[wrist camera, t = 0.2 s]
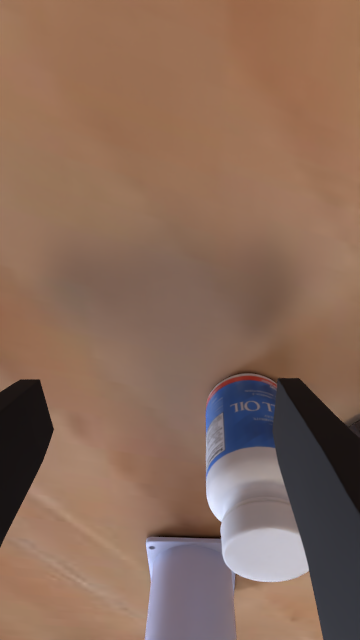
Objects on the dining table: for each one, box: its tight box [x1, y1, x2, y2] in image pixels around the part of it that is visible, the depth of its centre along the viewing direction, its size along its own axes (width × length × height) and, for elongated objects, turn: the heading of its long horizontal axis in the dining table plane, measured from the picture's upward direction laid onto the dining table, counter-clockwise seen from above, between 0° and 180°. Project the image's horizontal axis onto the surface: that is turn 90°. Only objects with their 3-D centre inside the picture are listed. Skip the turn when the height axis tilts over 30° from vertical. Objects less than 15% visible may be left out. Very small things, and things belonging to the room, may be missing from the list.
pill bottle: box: [206, 373, 309, 582], centre depth 19 cm, size 6×5×10 cm
